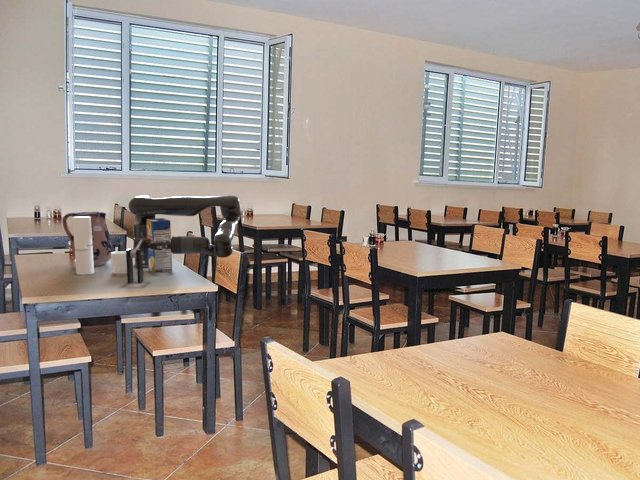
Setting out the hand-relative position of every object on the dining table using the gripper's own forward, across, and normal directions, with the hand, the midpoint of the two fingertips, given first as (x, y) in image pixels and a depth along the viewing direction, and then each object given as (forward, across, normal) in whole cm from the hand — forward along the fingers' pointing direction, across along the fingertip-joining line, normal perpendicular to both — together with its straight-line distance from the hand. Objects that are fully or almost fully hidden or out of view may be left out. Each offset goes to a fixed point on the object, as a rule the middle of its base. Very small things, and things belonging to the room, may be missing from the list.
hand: (142, 244), depth 274 cm
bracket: (0, -12, -15) cm, 19 cm away
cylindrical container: (+30, +14, -15) cm, 36 cm away
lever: (0, -6, -1) cm, 6 cm away
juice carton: (-2, +16, -15) cm, 22 cm away
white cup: (+13, +10, -15) cm, 22 cm away
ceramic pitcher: (+36, +36, -15) cm, 52 cm away
